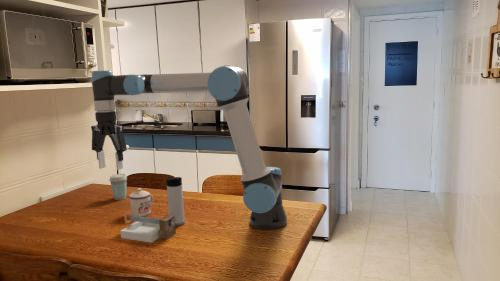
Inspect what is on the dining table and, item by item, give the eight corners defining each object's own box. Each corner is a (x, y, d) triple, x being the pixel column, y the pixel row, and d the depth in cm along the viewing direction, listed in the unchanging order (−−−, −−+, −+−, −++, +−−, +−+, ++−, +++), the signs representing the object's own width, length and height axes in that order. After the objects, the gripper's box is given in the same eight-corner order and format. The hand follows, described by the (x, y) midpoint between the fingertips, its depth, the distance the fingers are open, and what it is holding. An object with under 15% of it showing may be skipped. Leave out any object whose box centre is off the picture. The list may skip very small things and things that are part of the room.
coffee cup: (111, 197, 200) (109, 174, 198) (128, 195, 203) (126, 172, 200) (111, 202, 192) (108, 178, 190) (129, 199, 194) (126, 176, 192)
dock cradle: (172, 228, 156) (172, 221, 155) (151, 242, 143) (151, 235, 142) (143, 224, 161) (143, 217, 160) (121, 238, 148) (120, 230, 148)
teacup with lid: (140, 218, 168) (138, 192, 166) (126, 215, 173) (124, 190, 171) (160, 210, 178) (158, 185, 176) (147, 207, 183) (145, 183, 181)
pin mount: (175, 233, 151) (174, 215, 149) (167, 239, 145) (165, 220, 144) (168, 232, 152) (167, 214, 150) (160, 238, 146) (158, 219, 145)
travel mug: (170, 227, 157) (166, 179, 153) (168, 221, 163) (165, 175, 160) (185, 225, 158) (182, 178, 155) (183, 219, 165) (180, 174, 161)
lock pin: (175, 225, 149) (174, 216, 148) (170, 229, 145) (169, 220, 145) (131, 220, 156) (130, 211, 156) (125, 223, 153) (124, 214, 152)
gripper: (133, 110, 149) (138, 167, 153) (91, 110, 157) (97, 164, 161) (120, 112, 142) (126, 172, 146) (77, 112, 150) (83, 169, 154)
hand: (111, 168), depth 153 cm, fingers open, 8 cm apart
